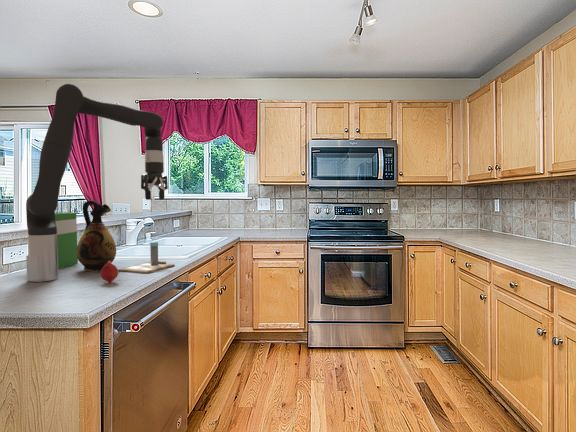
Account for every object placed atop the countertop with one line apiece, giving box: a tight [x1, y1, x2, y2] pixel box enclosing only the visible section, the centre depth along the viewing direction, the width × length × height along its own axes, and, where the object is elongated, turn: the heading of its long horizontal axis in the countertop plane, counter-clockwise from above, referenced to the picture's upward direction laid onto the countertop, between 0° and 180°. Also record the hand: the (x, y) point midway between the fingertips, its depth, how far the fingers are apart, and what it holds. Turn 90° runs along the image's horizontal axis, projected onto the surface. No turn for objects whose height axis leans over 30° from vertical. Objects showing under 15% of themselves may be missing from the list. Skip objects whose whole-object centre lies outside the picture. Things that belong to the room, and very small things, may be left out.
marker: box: [149, 241, 159, 265], centre depth 171 cm, size 3×3×10 cm
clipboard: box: [117, 260, 176, 274], centre depth 167 cm, size 18×15×2 cm
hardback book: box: [55, 212, 79, 270], centre depth 172 cm, size 18×7×24 cm, turn 178°
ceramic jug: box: [77, 199, 117, 272], centre depth 165 cm, size 17×15×30 cm
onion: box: [100, 261, 119, 284], centre depth 140 cm, size 6×6×8 cm
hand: (155, 199), depth 165 cm, fingers open, 8 cm apart
